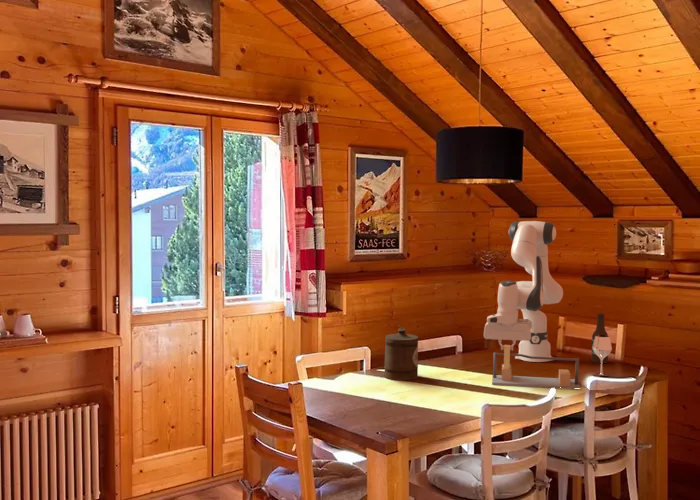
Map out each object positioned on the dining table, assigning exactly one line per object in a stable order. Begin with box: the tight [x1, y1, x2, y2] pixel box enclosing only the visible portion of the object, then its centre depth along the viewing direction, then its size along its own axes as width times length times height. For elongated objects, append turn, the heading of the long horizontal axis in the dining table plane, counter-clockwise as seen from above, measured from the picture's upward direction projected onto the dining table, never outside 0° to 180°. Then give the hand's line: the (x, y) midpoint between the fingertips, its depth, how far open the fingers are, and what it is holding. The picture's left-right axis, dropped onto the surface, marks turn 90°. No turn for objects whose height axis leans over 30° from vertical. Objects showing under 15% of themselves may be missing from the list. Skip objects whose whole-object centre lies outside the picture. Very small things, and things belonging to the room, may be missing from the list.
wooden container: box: [384, 327, 419, 381], centre depth 317 cm, size 15×15×22 cm
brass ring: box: [503, 344, 511, 369], centre depth 310 cm, size 8×2×9 cm, turn 168°
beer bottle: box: [590, 312, 609, 364], centre depth 347 cm, size 8×8×24 cm
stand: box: [491, 352, 581, 389], centre depth 306 cm, size 14×36×12 cm, turn 78°
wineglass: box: [591, 335, 613, 375], centre depth 320 cm, size 8×8×18 cm
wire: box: [496, 352, 576, 362], centre depth 306 cm, size 5×34×1 cm, turn 78°
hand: (506, 349), depth 310 cm, fingers closed on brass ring, 2 cm apart
